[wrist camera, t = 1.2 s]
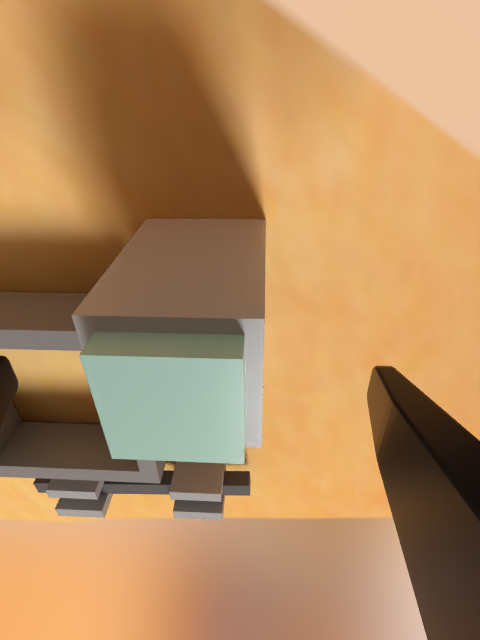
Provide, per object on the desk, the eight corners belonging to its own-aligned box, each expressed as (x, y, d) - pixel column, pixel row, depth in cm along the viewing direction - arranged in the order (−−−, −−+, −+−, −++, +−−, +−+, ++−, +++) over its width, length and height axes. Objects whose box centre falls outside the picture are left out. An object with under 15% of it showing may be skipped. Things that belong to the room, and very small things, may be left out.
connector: (265, 218, 13) (264, 343, 7) (263, 319, 15) (261, 475, 9) (146, 218, 13) (53, 338, 7) (161, 317, 15) (99, 467, 10)
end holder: (147, 293, 15) (121, 343, 12) (171, 437, 19) (157, 496, 17) (-60, 290, 15) (-128, 337, 12) (12, 431, 20) (-27, 487, 17)
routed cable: (250, 455, 20) (249, 495, 18) (250, 484, 21) (249, 525, 19) (39, 446, 20) (16, 485, 18) (52, 475, 22) (33, 514, 20)
